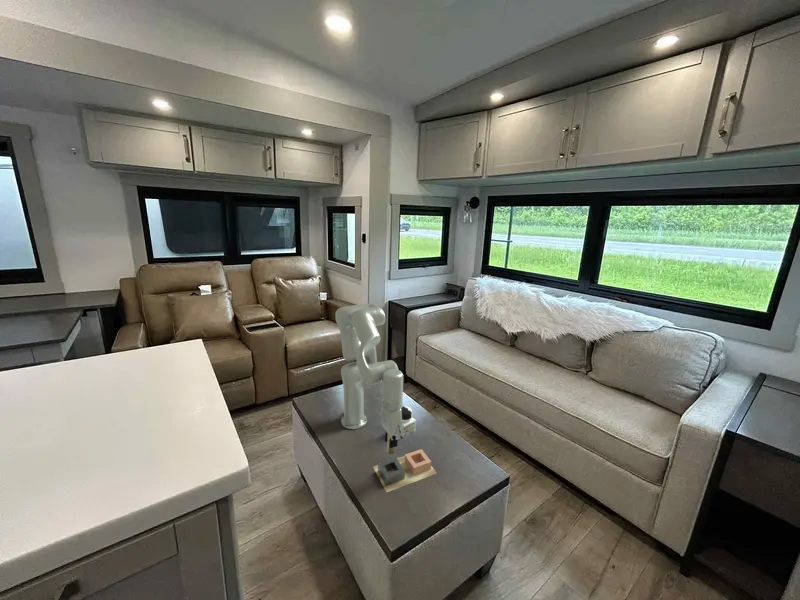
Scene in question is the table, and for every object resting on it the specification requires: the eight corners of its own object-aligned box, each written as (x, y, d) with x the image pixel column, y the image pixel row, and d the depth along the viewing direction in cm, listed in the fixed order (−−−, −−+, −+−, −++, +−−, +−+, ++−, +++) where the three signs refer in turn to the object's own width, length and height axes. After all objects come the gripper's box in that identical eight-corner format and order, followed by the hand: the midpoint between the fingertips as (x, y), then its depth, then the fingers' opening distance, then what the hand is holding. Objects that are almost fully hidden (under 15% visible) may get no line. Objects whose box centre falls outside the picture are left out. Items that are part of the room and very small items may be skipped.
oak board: (372, 469, 135) (372, 466, 134) (419, 453, 144) (419, 450, 144) (386, 495, 123) (386, 492, 122) (436, 476, 132) (437, 473, 132)
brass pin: (385, 449, 128) (386, 430, 126) (392, 447, 130) (393, 428, 127) (389, 455, 126) (389, 435, 123) (396, 452, 127) (396, 433, 125)
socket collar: (404, 461, 137) (404, 454, 136) (421, 455, 141) (421, 448, 140) (413, 475, 130) (413, 468, 129) (431, 468, 134) (431, 461, 133)
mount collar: (377, 470, 132) (377, 463, 131) (395, 464, 136) (396, 457, 135) (385, 485, 125) (385, 478, 124) (404, 478, 129) (404, 471, 128)
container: (403, 440, 152) (404, 416, 148) (392, 431, 158) (393, 408, 154) (415, 433, 157) (416, 410, 153) (405, 425, 162) (406, 402, 159)
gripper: (374, 393, 127) (374, 433, 132) (392, 417, 113) (391, 461, 118) (392, 388, 130) (391, 428, 135) (411, 412, 116) (409, 455, 121)
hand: (391, 443), depth 127 cm, fingers closed on brass pin, 3 cm apart
